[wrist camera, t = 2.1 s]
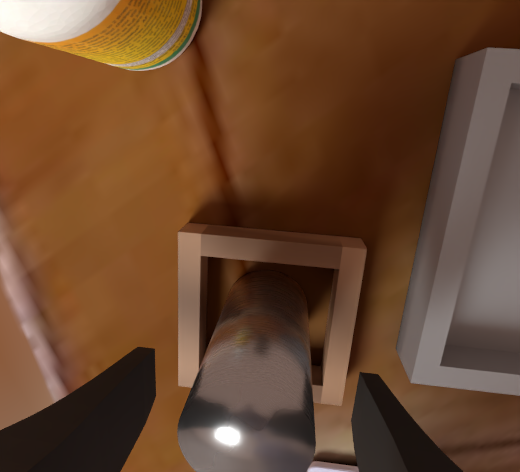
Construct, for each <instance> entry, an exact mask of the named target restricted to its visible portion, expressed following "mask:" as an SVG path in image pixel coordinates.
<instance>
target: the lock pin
mask: <svg viewBox="0 0 520 472" xmlns="http://www.w3.org/2000/svg"><path fill="white" fill-rule="evenodd" d="M177 433H178V441H179V446H180V448H181V451H182V453H183V455H184V457H185V459H186V460H187V462H188V463H189V464H190V466H191V467H192V468H193V469H194V470H195V471H196V472H306V471H307V470H308V468H309V466H310V465H311V463H312V460H313V458H314V454H315V446H316V441H315V423H314V406H313V389H312V372H311V355H310V337H309V320H308V305H307V299H306V296H305V294H304V292H303V290H302V288H301V287H300V286H299V284H298V283H297V282H296V281H294V280H293V279H292V278H291V277H289V276H287V275H285V274H283V273H281V272H277V271H272V270H259V271H254V272H251V273H248V274H246V275H244V276H243V277H241V278H240V279H239V280H238V281H237V282H236V283H235V284H234V285H233V287H232V288H231V290H230V292H229V295H228V297H227V300H226V302H225V305H224V307H223V310H222V312H221V315H220V317H219V320H218V323H217V325H216V328H215V330H214V333H213V335H212V338H211V340H210V343H209V345H208V348H207V350H206V353H205V356H204V358H203V361H202V363H201V366H200V368H199V371H198V373H197V376H196V378H195V381H194V383H193V386H192V389H191V391H190V394H189V396H188V399H187V401H186V404H185V406H184V409H183V411H182V414H181V416H180V419H179V423H178V431H177Z"/></svg>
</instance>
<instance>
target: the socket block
mask: <svg viewBox="0 0 520 472" xmlns="http://www.w3.org/2000/svg"><path fill="white" fill-rule="evenodd" d="M366 253H367V248H366V246H365V244H364V243H363V241H362V239H361V238H353V237H342V236H331V235H320V234H309V233H297V232H286V231H275V230H264V229H253V228H242V227H231V226H220V225H209V224H198V223H187V224H186V225H185V226H184V227H183V228H182V229H181V230H179V231H178V386H183V387H191V388H192V386H193V383H194V381H195V378H196V376H197V373H198V371H199V368H200V366H201V363H202V361H203V358H204V356H205V353H206V325H207V284H208V257H218V258H229V259H239V260H250V261H260V262H270V263H281V264H291V265H301V266H312V267H322V268H332V269H334V275H333V282H332V290H331V297H330V304H329V311H328V319H327V326H326V333H325V341H324V348H323V355H322V362H321V366H316V365H311V372H312V389H313V402H314V403H322V404H330V405H338V406H342V400H343V394H344V387H345V381H346V375H347V369H348V363H349V357H350V351H351V345H352V339H353V332H354V326H355V320H356V314H357V308H358V302H359V296H360V290H361V284H362V277H363V271H364V265H365V259H366Z"/></svg>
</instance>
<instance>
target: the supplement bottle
mask: <svg viewBox="0 0 520 472" xmlns="http://www.w3.org/2000/svg"><path fill="white" fill-rule="evenodd" d="M201 12H202V0H0V32H3V33H5V34H8V35H10V36H14V37H17V38H20V39H23V40H26V41H30V42H33V43H37V44H40V45H44V46H48V47H51V48H55V49H58V50H62V51H65V52H69V53H72V54H76V55H79V56H82V57H85V58H89V59H92V60H96V61H99V62H103V63H106V64H109V65H113V66H116V67H119V68H124V69H128V70H135V71H143V70H151V69H156V68H159V67H162V66H164V65H167V64H168V63H170V62H172V61H173V60H175V59H176V58H177V57H179V56H180V55H181V54H182V53H183V52H184V51H185V49H186V48H187V47H188V46H189V44H190V43H191V41H192V40H193V37H194V35H195V33H196V31H197V29H198V26H199V23H200V19H201Z"/></svg>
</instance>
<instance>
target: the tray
mask: <svg viewBox="0 0 520 472" xmlns="http://www.w3.org/2000/svg"><path fill="white" fill-rule="evenodd" d="M396 350H397V352H398V355H399V357H400V359H401V362H402V364H403V366H404V369H405V371H406V373H407V375H408V378H409V380H410V382H411V383H415V384H424V385H432V386H441V387H449V388H458V389H466V390H475V391H484V392H492V393H501V394H509V395H518V396H520V49H507V48H488V47H487V48H485V49H482V50H480V51H477V52H474V53H472V54H469V55H467V56H464V57H461V58H459V59H456V60H455V65H454V70H453V75H452V80H451V85H450V90H449V94H448V99H447V104H446V109H445V114H444V119H443V123H442V128H441V133H440V138H439V143H438V148H437V152H436V157H435V162H434V167H433V172H432V177H431V181H430V186H429V191H428V196H427V201H426V206H425V210H424V215H423V220H422V225H421V230H420V235H419V239H418V244H417V249H416V254H415V259H414V264H413V268H412V273H411V278H410V283H409V288H408V293H407V297H406V302H405V307H404V312H403V317H402V322H401V326H400V331H399V336H398V341H397V346H396Z"/></svg>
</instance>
